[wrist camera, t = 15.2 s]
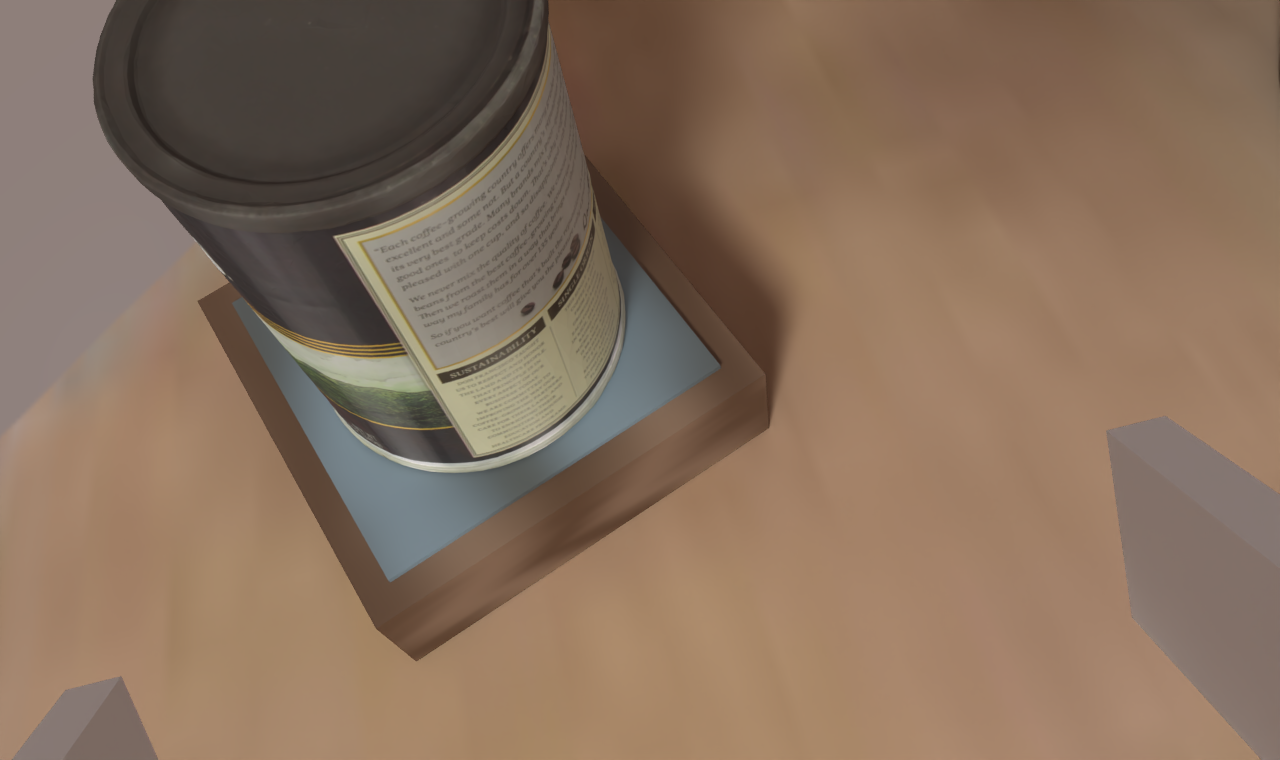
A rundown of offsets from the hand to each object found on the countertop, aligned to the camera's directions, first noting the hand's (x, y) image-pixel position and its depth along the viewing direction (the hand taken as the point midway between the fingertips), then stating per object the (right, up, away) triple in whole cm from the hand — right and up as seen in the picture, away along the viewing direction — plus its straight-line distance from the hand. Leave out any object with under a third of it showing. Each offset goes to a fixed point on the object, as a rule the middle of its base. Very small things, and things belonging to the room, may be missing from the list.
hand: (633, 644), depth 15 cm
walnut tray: (-5, +3, +27) cm, 27 cm away
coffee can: (-5, +5, +23) cm, 24 cm away
